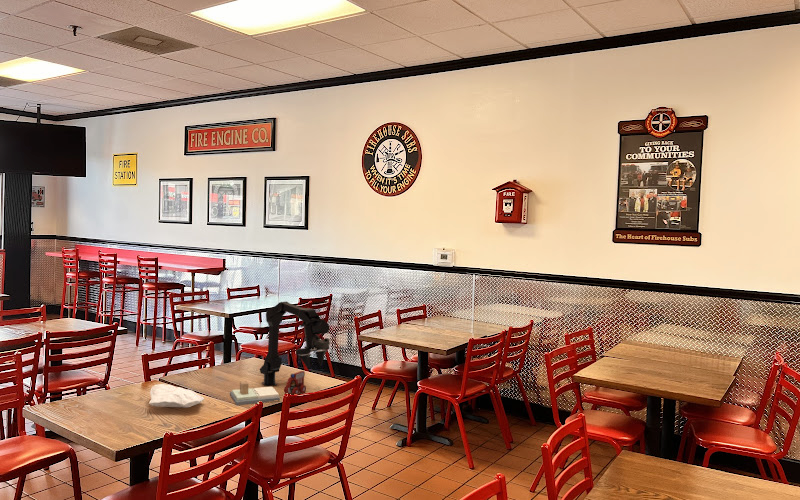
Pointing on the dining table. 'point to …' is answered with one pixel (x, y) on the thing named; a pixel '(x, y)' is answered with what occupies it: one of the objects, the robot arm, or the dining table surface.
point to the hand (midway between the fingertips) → (315, 367)
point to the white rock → (173, 396)
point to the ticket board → (259, 396)
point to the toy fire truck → (296, 383)
